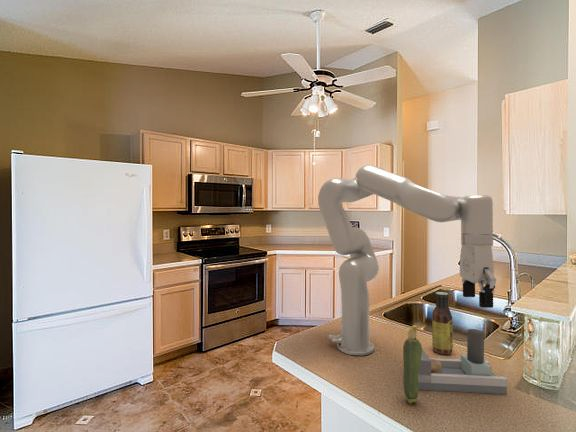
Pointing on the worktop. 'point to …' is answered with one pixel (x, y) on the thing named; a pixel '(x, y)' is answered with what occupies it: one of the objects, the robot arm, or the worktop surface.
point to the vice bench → (457, 378)
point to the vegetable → (411, 364)
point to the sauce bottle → (442, 325)
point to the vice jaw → (475, 355)
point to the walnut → (435, 366)
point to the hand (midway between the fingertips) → (477, 301)
